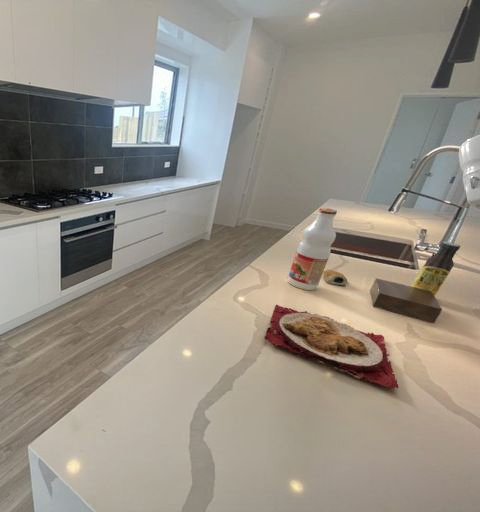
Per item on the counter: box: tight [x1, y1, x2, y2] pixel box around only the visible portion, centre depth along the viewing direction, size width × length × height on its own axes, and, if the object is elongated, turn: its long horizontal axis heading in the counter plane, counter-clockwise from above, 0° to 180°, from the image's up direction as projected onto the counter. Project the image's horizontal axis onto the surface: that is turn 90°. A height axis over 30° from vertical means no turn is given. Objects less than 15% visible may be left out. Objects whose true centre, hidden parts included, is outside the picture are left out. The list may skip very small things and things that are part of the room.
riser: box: [369, 277, 443, 324], centre depth 97 cm, size 14×14×5 cm
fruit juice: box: [287, 207, 338, 291], centre depth 103 cm, size 9×9×28 cm
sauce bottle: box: [410, 241, 461, 296], centre depth 100 cm, size 6×6×20 cm
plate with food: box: [263, 304, 400, 389], centre depth 78 cm, size 24×26×4 cm
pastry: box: [322, 269, 349, 286], centre depth 113 cm, size 9×7×4 cm
